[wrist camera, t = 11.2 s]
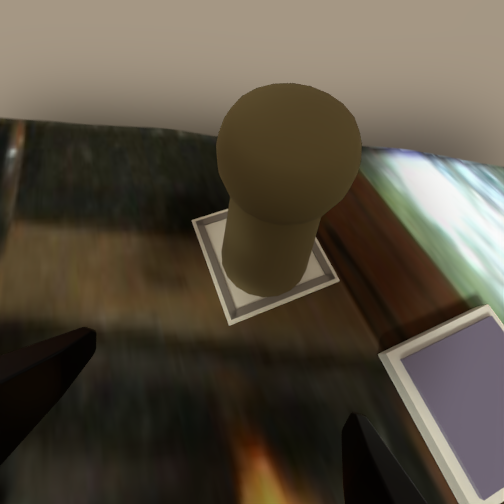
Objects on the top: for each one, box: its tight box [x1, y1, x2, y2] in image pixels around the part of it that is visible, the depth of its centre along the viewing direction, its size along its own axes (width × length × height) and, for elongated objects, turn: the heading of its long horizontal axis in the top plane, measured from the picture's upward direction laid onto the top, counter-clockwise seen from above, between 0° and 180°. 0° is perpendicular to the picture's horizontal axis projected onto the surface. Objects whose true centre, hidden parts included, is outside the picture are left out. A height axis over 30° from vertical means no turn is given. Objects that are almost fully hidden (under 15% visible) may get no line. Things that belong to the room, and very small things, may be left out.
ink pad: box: [378, 304, 504, 504], centre depth 15 cm, size 8×8×1 cm
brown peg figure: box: [216, 83, 362, 297], centre depth 13 cm, size 6×6×11 cm
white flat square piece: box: [191, 209, 340, 326], centre depth 18 cm, size 8×8×1 cm
